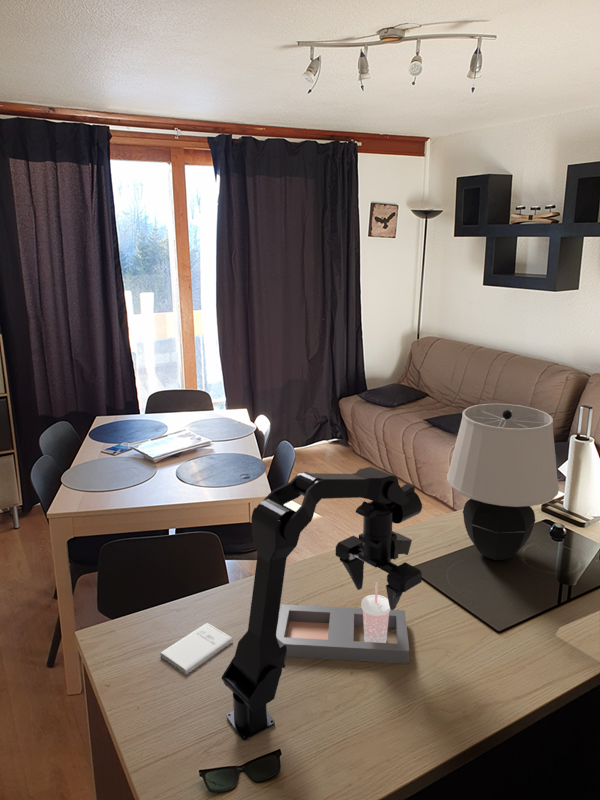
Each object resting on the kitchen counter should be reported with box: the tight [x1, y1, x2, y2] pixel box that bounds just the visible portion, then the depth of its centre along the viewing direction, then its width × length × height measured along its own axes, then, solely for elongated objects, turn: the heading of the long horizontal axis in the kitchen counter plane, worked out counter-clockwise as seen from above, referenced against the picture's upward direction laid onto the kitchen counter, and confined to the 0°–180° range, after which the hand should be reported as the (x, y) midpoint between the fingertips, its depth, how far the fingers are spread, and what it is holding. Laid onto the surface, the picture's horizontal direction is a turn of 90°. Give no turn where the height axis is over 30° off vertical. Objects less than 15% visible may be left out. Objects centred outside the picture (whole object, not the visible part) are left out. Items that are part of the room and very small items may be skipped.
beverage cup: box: [360, 580, 391, 643], centre depth 122 cm, size 6×6×14 cm
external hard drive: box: [160, 622, 233, 676], centre depth 122 cm, size 2×8×12 cm
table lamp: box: [446, 403, 560, 561], centre depth 150 cm, size 27×27×40 cm
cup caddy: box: [276, 603, 410, 665], centre depth 124 cm, size 27×13×3 cm, turn 84°
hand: (375, 598), depth 121 cm, fingers open, 9 cm apart
